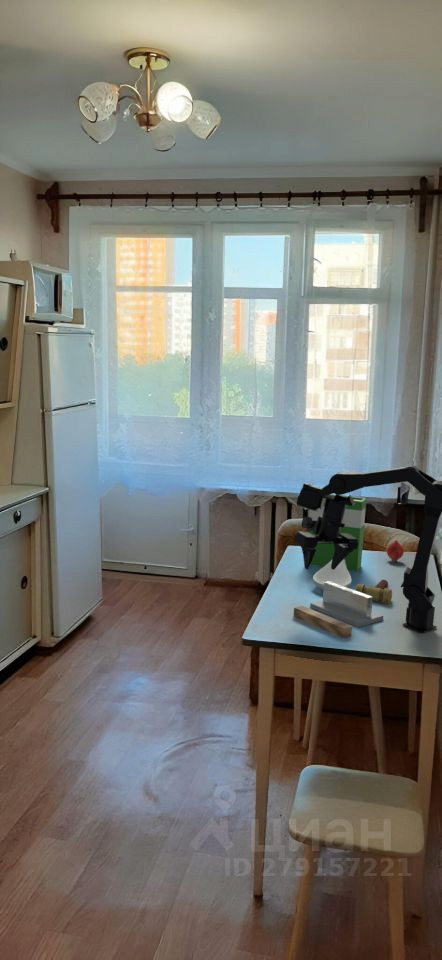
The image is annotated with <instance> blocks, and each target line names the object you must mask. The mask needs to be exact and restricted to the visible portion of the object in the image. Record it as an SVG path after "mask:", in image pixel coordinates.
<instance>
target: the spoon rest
mask: <svg viewBox="0 0 442 960" xmlns="http://www.w3.org/2000/svg"><path fill="white" fill-rule="evenodd" d="M331 564H332V560H331V561H330V562H329V563H328V564H327V565H326V566H324V567H321V568H320V569H319V570H318V571H316V572H315V574H313V577H312V581H313V583H314V585H315V586H316V587H317V588H318V589H320V590H321V591H322V592H323V591H324V582H327V581H330V582H333V583H336V584H338V585H341V586H344V587H347V588H349V587H350V586H351V584H352V581H353V580H352V577H351V573H350V571H349V570H347V566H346V562H345V559H343V560H342V561H341V562H340V564H339V565H338V566H337V567H336V568H335V569H334V570H333V569H331Z"/></svg>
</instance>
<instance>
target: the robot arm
mask: <svg viewBox="0 0 442 960" xmlns="http://www.w3.org/2000/svg"><path fill="white" fill-rule="evenodd" d="M405 482H406V483H409V484H410V485H411V486H412V487H413V488H415V490H416V491H418V492H419V493H420V494H422V495H423V496H424V517H423V518H424V519H423V522H422V526H421V531H420V535H419V540H418V543H417V548H416V551H415V552H416V553H415V555H414V559H413V565H412V567H411V568H410V567H409V566H406V569H405V570H404V573H403V581H402V583H401V585H400V588H402V595H403V596H404V597H405V599H407V600H408V603H407V604H408V605H407V607H406V611H405V612H406V613H405V622H404V623H402V626H403V627H405V628H408V629H412V631H413V630H414V631H416V632H418V633H427V632H430V631H432V630H436V629H437V625H434V621H435V610H436V607H435V606H433V603H434V600H435V597H436V595H435V593H434V592H433V591H432V589H430V588H429V564H430V560H431V555H432V551H433V547H434V542H435V539H436V536H437V535H436V533H437V529H438V525H439V521H440V518H441V515H442V480H437V479H436V478H434V477H432V476H431V475H429V474H427V473H425V472H424V471H422V470H421V469H420V468H418V467H417V466H416V465H414V464H410V465H407V466H402V467H395V468H394V467H393V468H389V469H388V468H386V469H381V470H373V471H367V472H363V471H362V472H360V471H352V470H350V471H347V470H341V471H339V472H337V473H335V474H333V475H332V476H331V477H330V478H329V481H328V484H326V485H324V486H322V487H320V486H317V485H313V484H311V483H308V482H305V483H303V484H302V487H301V489H300V492H299V494H298V495H297V499H296V506H297V507H299V508H303V509H307V510H313V511H316V512H317V511H318V509H322V508H323V505H324V502H325V499H326V503H325V507H324V511H323V515H322V516H319V517H318V520H317V521H313V520H312V518H311V517H309V516H302V517H303V518H302V520H301V528H302V529H305V531H296V532H295V533H294V537H293V540H292V541H294V542H295V543H296V544H297V545H298V546H299V547H300V548H301V551H302V556H303V565H304V569H305V570H309V568H310V566H311V565H310V564H311V562H312V559H313V557H314V555H315V552H316V549H315V547H316V546H317V543H324V544H334V548H335V551H334V555H333V559H332V564H331V569H333V570H334V569H335V568H336V567H337V566H338V565H339V564H340V562H341V561H342V560H343V559H344V558H345V557H346V556H347V555H348V554H349V553H350V552H353V549H357V548H358V544H359V542H358V539H357V538H355V537H353V536H352V535H350V534H348V533H340V529H341V527H344V526H345V524H344V523H343V522H342V521H343V517H344V514H345V510H346V506H347V505H349V506H353V505H354V504H355V502H354V500H353V499H352V497H353V496H352V495H351V494H350V495H347V496H348V497H344V496H345V494H349V493H352V492H355V491H357V490H360V489H363V488H367V487H368V488H369V487H376V486H382V485H391V484H398V483H405ZM330 494H332V495H336V496H330ZM341 495H342V496H341ZM309 531H313V533H314V534H317V536H313V535H312V534H310V533H309Z"/></svg>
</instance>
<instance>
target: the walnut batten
mask: <svg viewBox="0 0 442 960" xmlns="http://www.w3.org/2000/svg"><path fill="white" fill-rule="evenodd" d="M293 618H295V619H297V620H300V621H302V622H304V623H307V624H309V625H312V626H314V627H317V628H318V629H321V630H323V631H325V632H326V633H327V632H328V633H330V634H331V635H334V636H336V637H339V638H341V639H345V638H349V637H352V633H353V631H352V629H353V626H352V624H349V623H347V622H346V623H345V622H344V621H342V620H339V619H337V618H336V619H335V617H334V618H333V617H332V616H330V615H327V614H325V613H322V612H320V611H317V610H315V609H314V610H313V609H312V608H309V607H306V606H304V605H299V606H295V607H294V608H293Z"/></svg>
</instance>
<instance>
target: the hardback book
mask: <svg viewBox="0 0 442 960" xmlns="http://www.w3.org/2000/svg"><path fill="white" fill-rule="evenodd" d="M330 496H336V494H330ZM341 496H344V497H348V496H349V495H341ZM351 497H352V499H353V500H354V502H355V504H354V505H353V506H349V505H347V506H346V510H345V514H344V517H343V521H342V522H343V523H344V524H345V526H344V527H341V529H340V533H348V534H350V535H352V536H353V537H355V538H357V539H358V542H359V544H358V548H357V549H353V552H350V553H349V554H348V555H347V556H346V557H345V558H344V559H345V562H346V566H347V570H348V572H350V571H351V572H356V573H357V572H358V571H359V570H360V568H361V567H362V561H363V560H362V557H363V556H362V555H363V546H364V532H365V522H366V521H365V519H366V518H365V517H366V507H367V498H366V497H359V496H351ZM325 503H326V499H325V502H324V505H323V508H322V509H318V511H317V512H316V511H313V510H309V509H308V510H309V511H308V512H309V514H308V515H309V516H308V517H311V518H312V520H313V521H317V520H318V517H319V516H322V515H323V511H324V507H325ZM309 533H310V534H312V535H313V536H317V534H314V533H313V531H309ZM315 549H316V552H315V555H314V557H313V559H312V562H311V564H310V566H315V567H321V568H323V567H324V566H326V565H327V564H328V563H329V562H330V561H331V560H332V559H333V555H334V551H335V548H334V544H324V543H317V546H316V547H315Z"/></svg>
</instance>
